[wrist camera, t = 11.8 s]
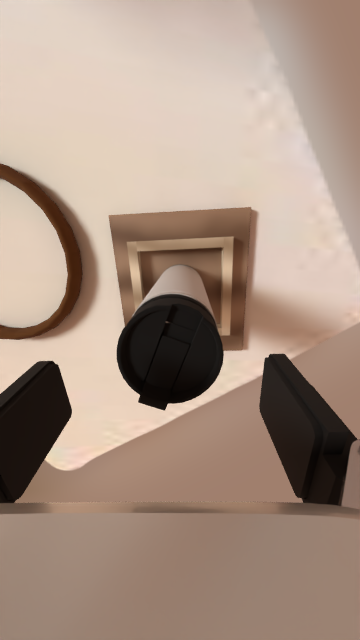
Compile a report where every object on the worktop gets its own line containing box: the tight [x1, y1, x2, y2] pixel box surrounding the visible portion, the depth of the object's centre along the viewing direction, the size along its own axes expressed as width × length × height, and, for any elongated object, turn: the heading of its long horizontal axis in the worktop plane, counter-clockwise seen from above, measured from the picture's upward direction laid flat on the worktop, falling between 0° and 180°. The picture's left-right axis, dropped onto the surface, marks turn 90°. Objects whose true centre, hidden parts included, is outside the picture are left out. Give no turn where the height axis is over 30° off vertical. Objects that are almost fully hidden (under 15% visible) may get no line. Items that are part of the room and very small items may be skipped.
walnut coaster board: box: [109, 207, 251, 351], centre depth 30 cm, size 20×18×2 cm
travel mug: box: [117, 264, 224, 410], centre depth 21 cm, size 6×7×20 cm
